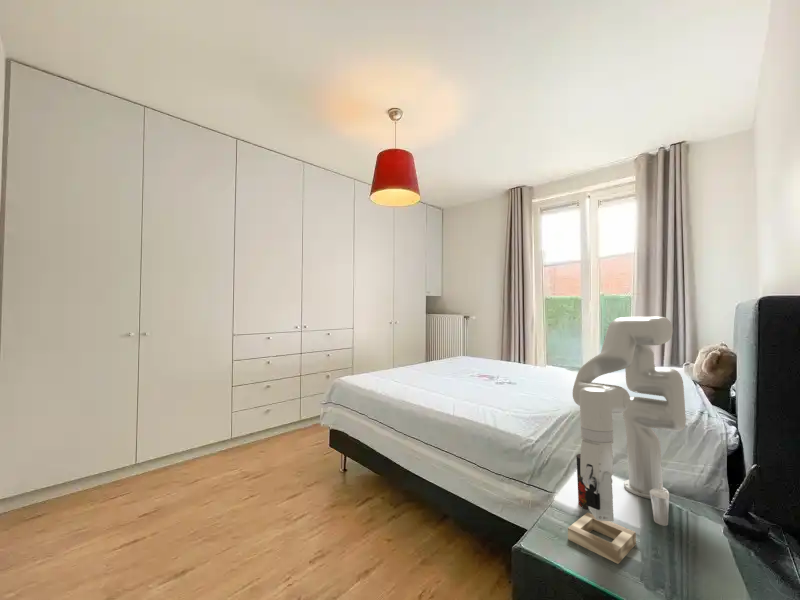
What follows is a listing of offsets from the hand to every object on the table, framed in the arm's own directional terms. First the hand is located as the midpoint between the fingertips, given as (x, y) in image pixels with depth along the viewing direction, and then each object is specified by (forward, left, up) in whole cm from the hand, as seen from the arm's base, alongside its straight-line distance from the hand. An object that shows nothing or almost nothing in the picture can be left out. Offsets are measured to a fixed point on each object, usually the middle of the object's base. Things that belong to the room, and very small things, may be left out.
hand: (599, 502), depth 91 cm
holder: (0, 0, -10) cm, 10 cm away
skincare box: (0, 0, -4) cm, 4 cm away
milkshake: (-23, +7, -10) cm, 26 cm away
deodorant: (-16, -10, -10) cm, 22 cm away
